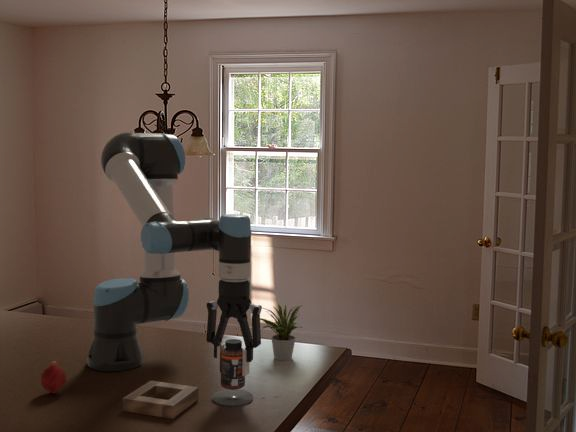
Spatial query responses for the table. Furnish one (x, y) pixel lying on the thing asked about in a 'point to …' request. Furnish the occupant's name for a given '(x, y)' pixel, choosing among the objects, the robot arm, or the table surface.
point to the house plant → (282, 333)
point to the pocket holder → (149, 405)
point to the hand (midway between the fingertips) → (233, 372)
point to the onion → (53, 378)
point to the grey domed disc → (232, 397)
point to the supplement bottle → (232, 365)
